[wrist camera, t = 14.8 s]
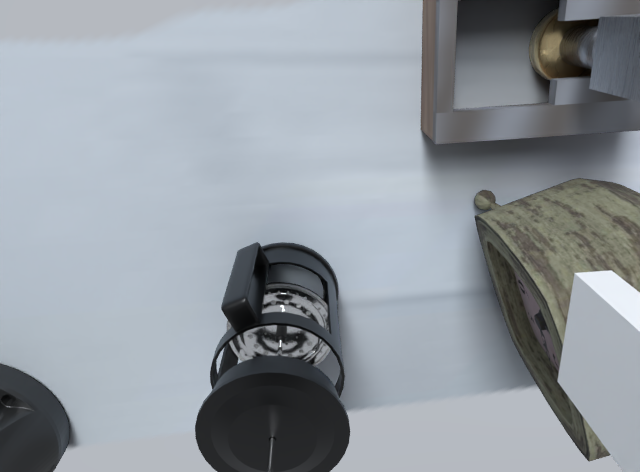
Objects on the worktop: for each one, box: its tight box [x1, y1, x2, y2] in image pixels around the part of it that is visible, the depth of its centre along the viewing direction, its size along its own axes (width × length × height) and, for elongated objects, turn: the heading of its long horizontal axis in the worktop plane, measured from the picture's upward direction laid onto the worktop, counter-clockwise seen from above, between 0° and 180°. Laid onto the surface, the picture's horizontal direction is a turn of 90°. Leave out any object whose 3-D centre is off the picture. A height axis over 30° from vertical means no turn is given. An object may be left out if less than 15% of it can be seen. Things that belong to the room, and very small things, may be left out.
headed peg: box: [529, 8, 640, 102], centre depth 31 cm, size 5×5×14 cm
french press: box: [195, 242, 350, 472], centre depth 34 cm, size 12×9×23 cm
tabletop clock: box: [475, 178, 640, 461], centre depth 32 cm, size 14×9×25 cm, turn 22°
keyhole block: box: [421, 0, 640, 144], centre depth 35 cm, size 15×11×5 cm
